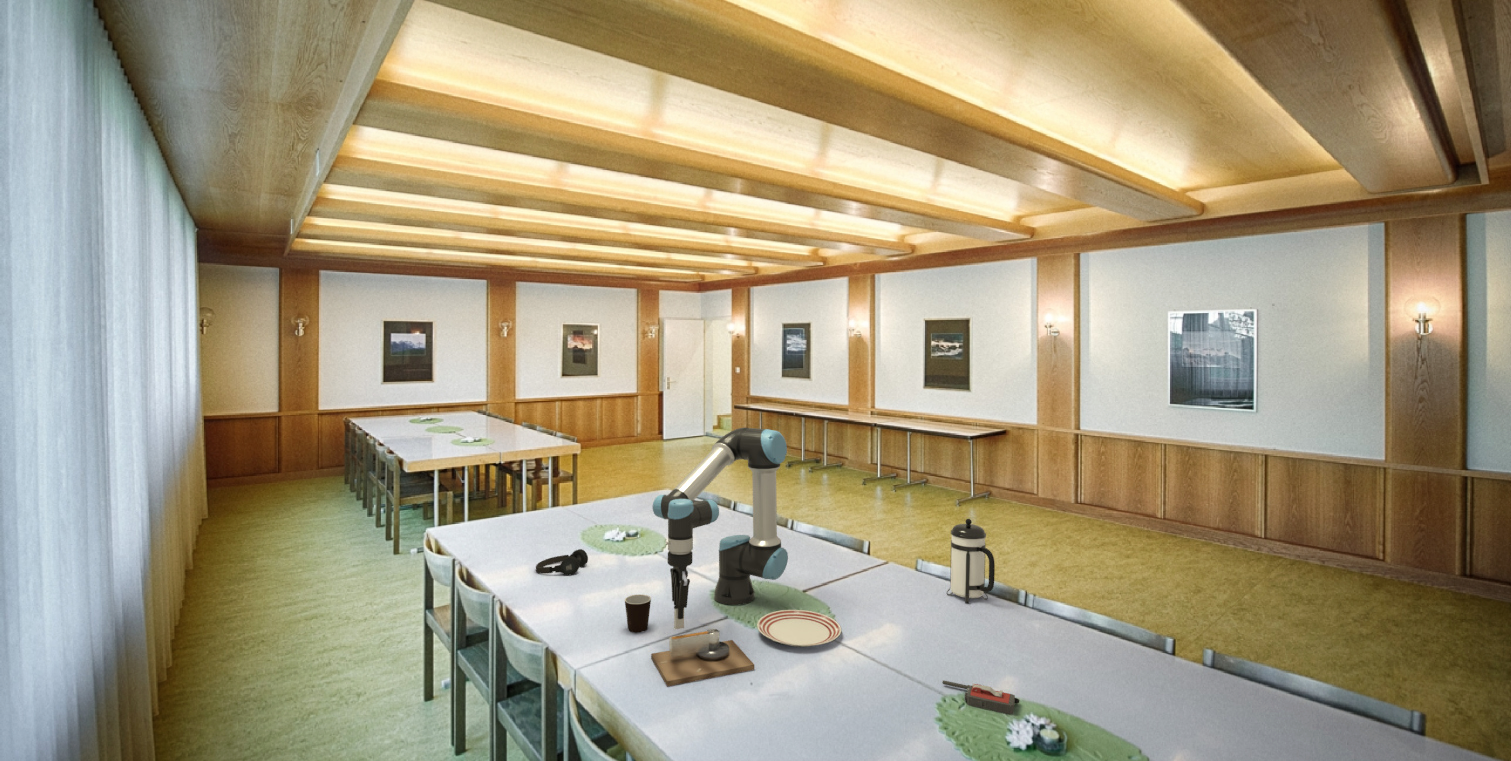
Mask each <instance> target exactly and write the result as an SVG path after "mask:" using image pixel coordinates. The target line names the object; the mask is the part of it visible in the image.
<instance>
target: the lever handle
mask: <svg viewBox="0 0 1511 761" xmlns="http://www.w3.org/2000/svg"><path fill="white" fill-rule="evenodd" d="M668 651H669V654H670V655H671V657H675V656H681V655H687V654H692V653H696V656H697V657H698V658H700V659H703V660H708V661H715V660H721V659H724V658H726V657H727V656H728V655H729V646H728V645H727V644H726V643H724V642H722V641H720V630H719V629H716V628H709V629H706V630H705V631H698V632H697V631H696V632H692V633H685V634H684V633H683V634H679V635H674V636H669V650H668Z"/></svg>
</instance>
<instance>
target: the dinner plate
mask: <svg viewBox="0 0 1511 761" xmlns="http://www.w3.org/2000/svg"><path fill="white" fill-rule="evenodd" d="M756 628H757V629H758V631H759V632H760V634H762V635H763V636H764V637H765V638H767V639H768V640H771V641H773V642H776V643H779V644H781V645H786V646H790V647H796V648H798V647H800V648H804V647H815V646H820V645H824V644H827V643H830V642H833V641H835V640H837V639H838V638H839V637H840V635H841V633H842V627H841V626H840V623H838V622H837V621H836V620H835V619H834V618H832V617H830V616H829V615H826V614H823V613H819V612H817V611H811V610H804V609H782V610H777V611H772V612H769V613H767V614H765V615H763V616H762V617H760V619H759V620H758V621H757V624H756Z"/></svg>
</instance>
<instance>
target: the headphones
mask: <svg viewBox="0 0 1511 761" xmlns="http://www.w3.org/2000/svg"><path fill="white" fill-rule="evenodd" d="M588 562H589V557H588V554H587V552H586V551H585V550H584V549H583V548H579V549H576V550H574V551H573V552H572V553H571V554H570V555H569V554H564V555H563V554H562V555H557V556H552V557H549V558H545V559H543V560H542V561H539V562H538V563H537V564H536V565H535V572H536V573H537V574H552V573H555V574H557V573H562V574H564V575H565V576H572V575H574V574H575V573H576V572H578V571H579V570H580V568H583V567H584V566H585V565H587V564H588ZM557 563H560V564H558V565H554V567H553V566H549V565H552V564H557Z"/></svg>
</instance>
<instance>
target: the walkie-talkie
mask: <svg viewBox="0 0 1511 761" xmlns="http://www.w3.org/2000/svg"><path fill="white" fill-rule="evenodd" d="M941 682H942V684H943V685H946V686H949V687H953V688H954V687H955V688H959V689H964V690H966V691H965V692H964V701H965V702H966V705H967V706H969V707H974V708H978V709H982V710H983V709H984V710H987V711H993V712H997V713H1001V714H1005V715H1009V716H1010V715H1014V710H1015V704H1020V702H1021V700H1020V699H1019V698H1017V697H1016V694H1013V693H1007V692H1003V690H995V689H993V688H992V686H988V685H982V684H979V683H972V685H970V684H963V683H958V682H953V681H949V680H942V681H941Z"/></svg>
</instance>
